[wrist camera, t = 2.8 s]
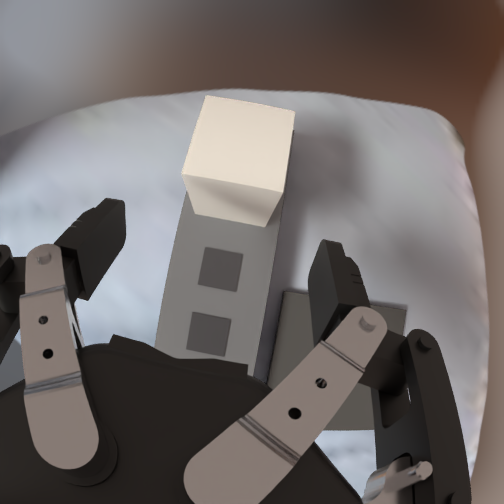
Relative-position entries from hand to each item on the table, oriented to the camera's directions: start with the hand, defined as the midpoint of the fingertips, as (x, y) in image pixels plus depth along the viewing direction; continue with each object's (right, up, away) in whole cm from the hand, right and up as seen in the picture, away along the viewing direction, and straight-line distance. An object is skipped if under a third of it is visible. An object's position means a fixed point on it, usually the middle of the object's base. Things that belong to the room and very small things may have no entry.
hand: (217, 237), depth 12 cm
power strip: (-1, -1, +11) cm, 12 cm away
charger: (0, +4, +12) cm, 12 cm away
